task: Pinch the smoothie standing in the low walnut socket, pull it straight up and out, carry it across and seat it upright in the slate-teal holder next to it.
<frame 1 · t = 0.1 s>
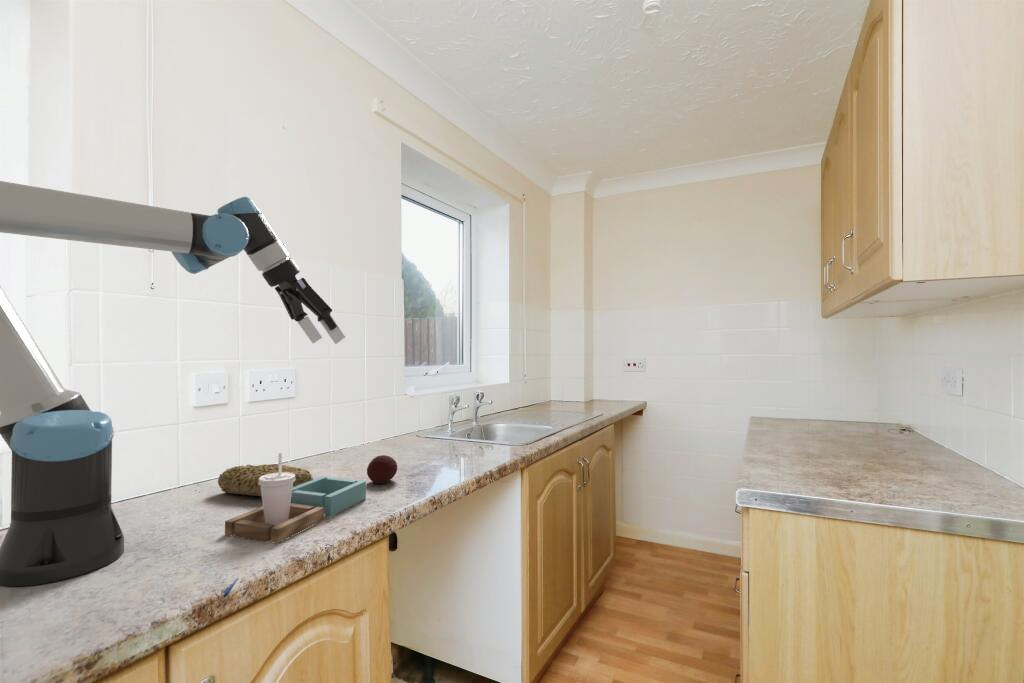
hand: (328, 340, 119), 36 cm above the counter, tool tilted 35°, fingers open, 13 cm apart
sponge: (267, 494, 113), on the counter
smoothie: (276, 528, 92), resting in holder a
holder b: (325, 504, 105), on the counter
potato: (382, 482, 123), on the counter
holder a: (276, 527, 92), on the counter
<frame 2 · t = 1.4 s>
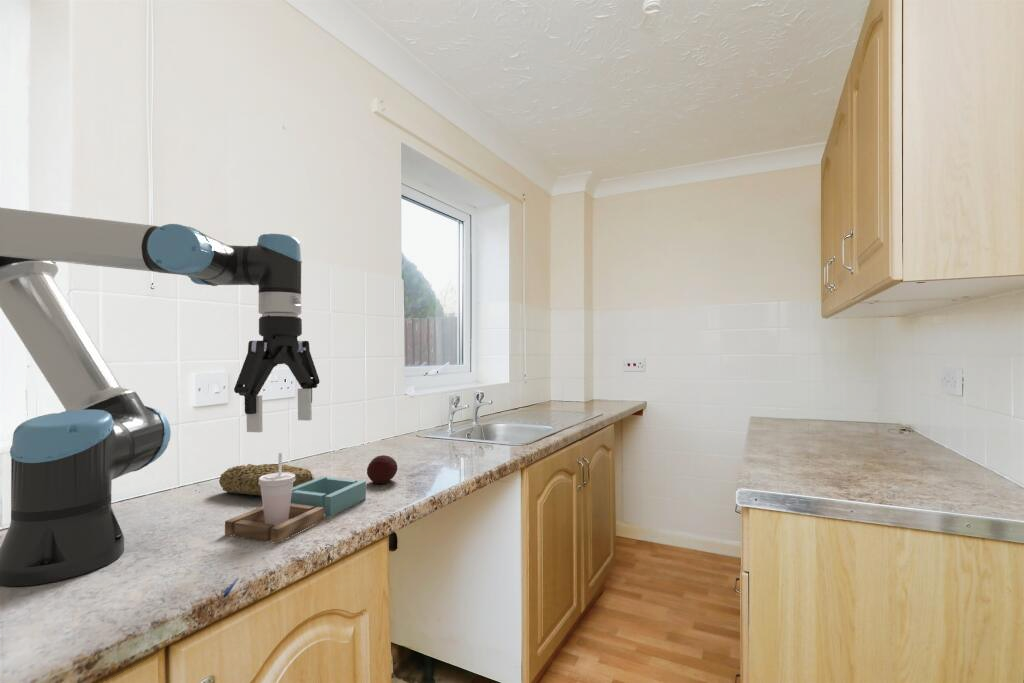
hand: (281, 425, 94), 19 cm above the counter, tool pointing down, fingers open, 13 cm apart
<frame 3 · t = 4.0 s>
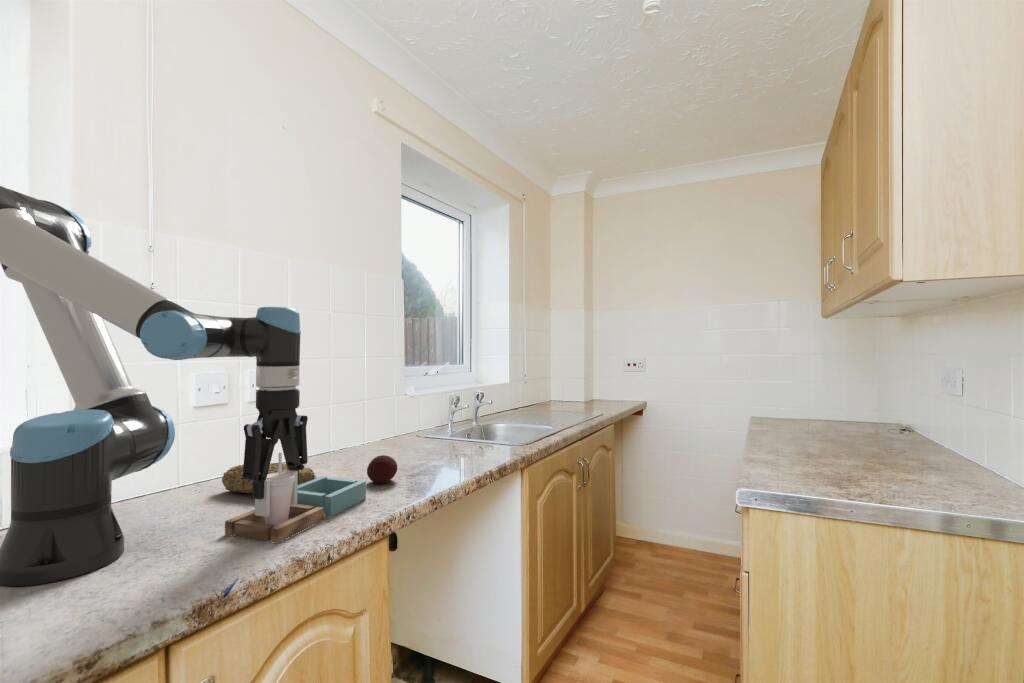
hand: (276, 509, 92), 3 cm above the counter, tool pointing down, fingers closed on smoothie, 6 cm apart
smoothie: (276, 528, 92), resting in holder a, touching gripper
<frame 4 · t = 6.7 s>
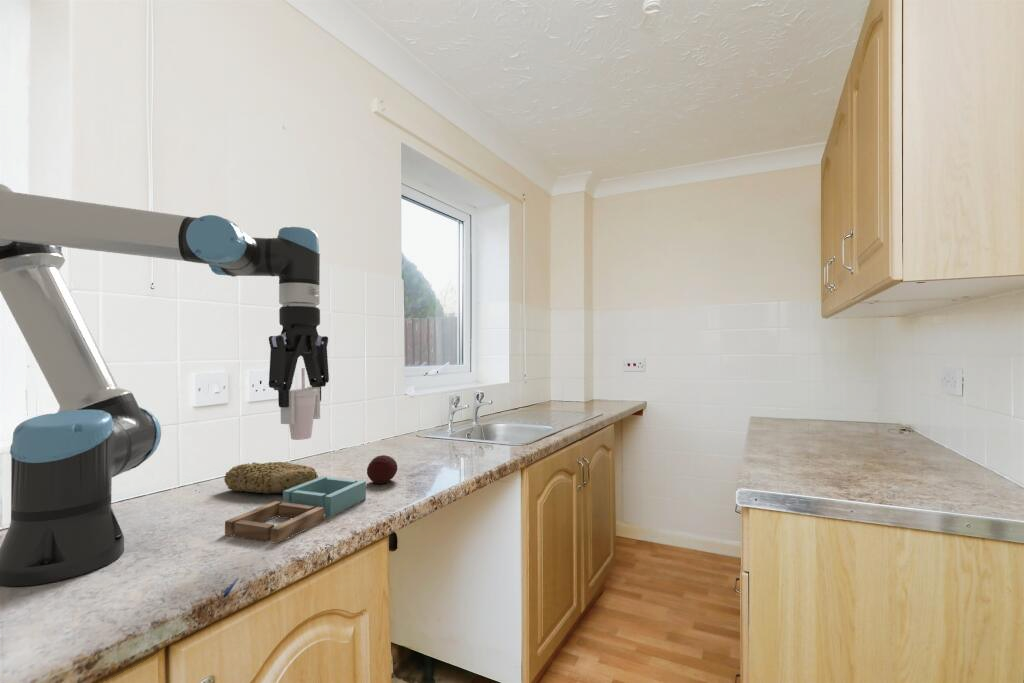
hand: (301, 420, 97), 19 cm above the counter, tool pointing down, fingers closed on smoothie, 6 cm apart
smoothie: (301, 438, 97), point 16 cm above the counter, touching gripper
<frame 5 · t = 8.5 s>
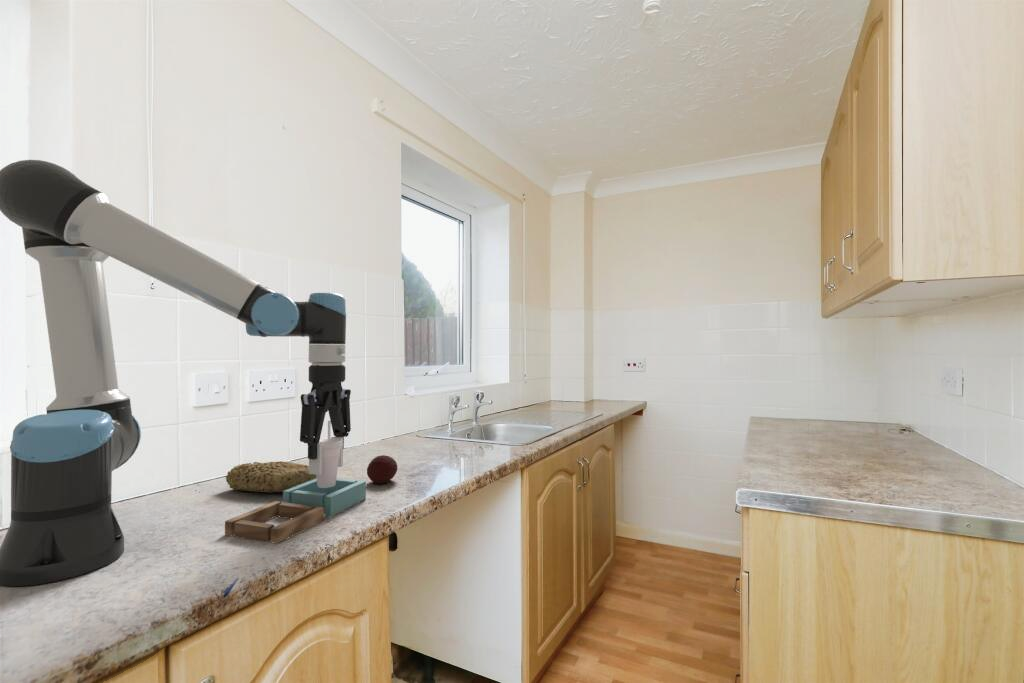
hand: (326, 469, 106), 8 cm above the counter, tool pointing down, fingers closed on smoothie, 6 cm apart
smoothie: (326, 486, 106), point 4 cm above the counter, touching gripper
when the fingers open (5 cm above the counter, at t = 9.7 s): smoothie drops 1 cm, resting in holder b.
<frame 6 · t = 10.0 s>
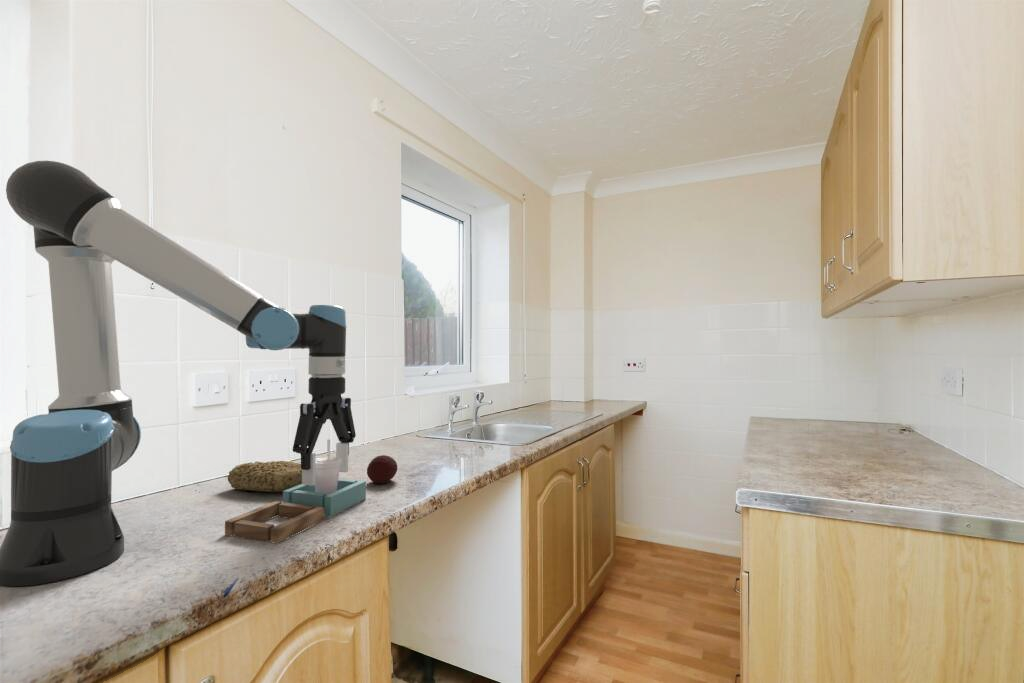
hand: (326, 477, 106), 6 cm above the counter, tool pointing down, fingers open, 10 cm apart
smoothie: (325, 505, 105), resting in holder b
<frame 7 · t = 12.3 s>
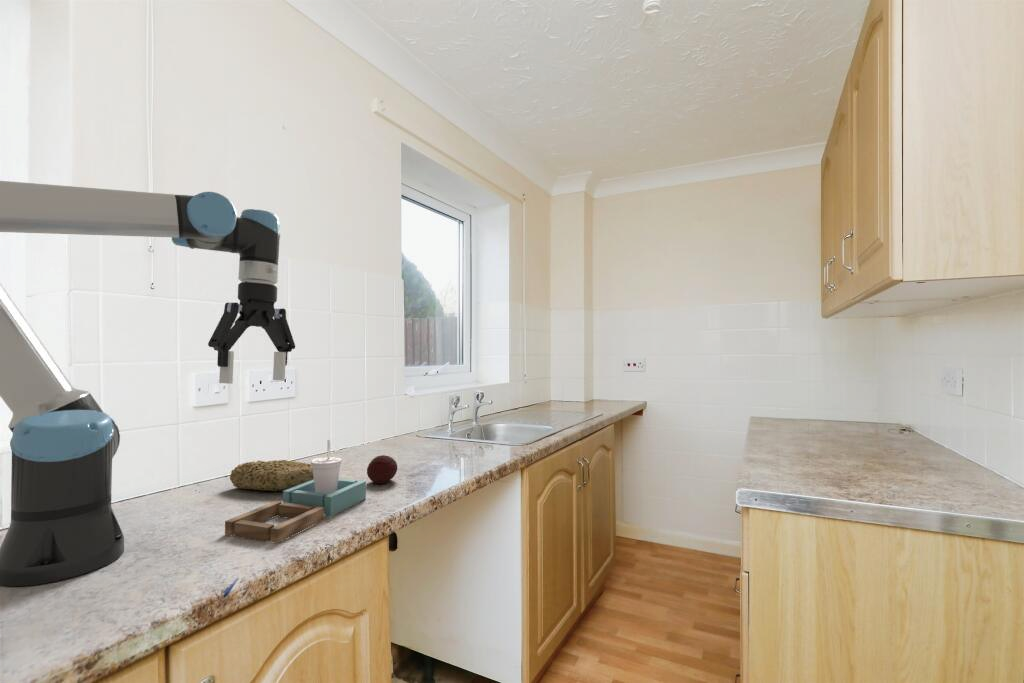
hand: (253, 381, 104), 27 cm above the counter, tool pointing down, fingers open, 13 cm apart
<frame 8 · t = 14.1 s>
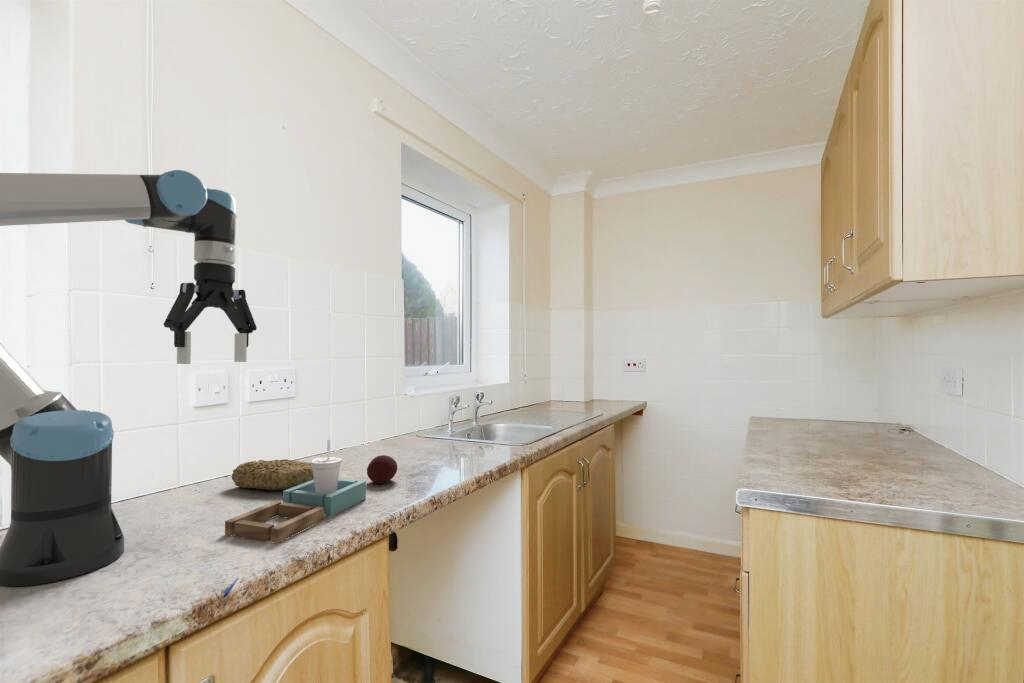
hand: (213, 363, 104), 31 cm above the counter, tool pointing down, fingers open, 13 cm apart
at the end: smoothie 0.0 cm off-centre on the holder b, point 0.0 cm above the holder b's base; smoothie tilted 0°; the gripper is holding nothing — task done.
